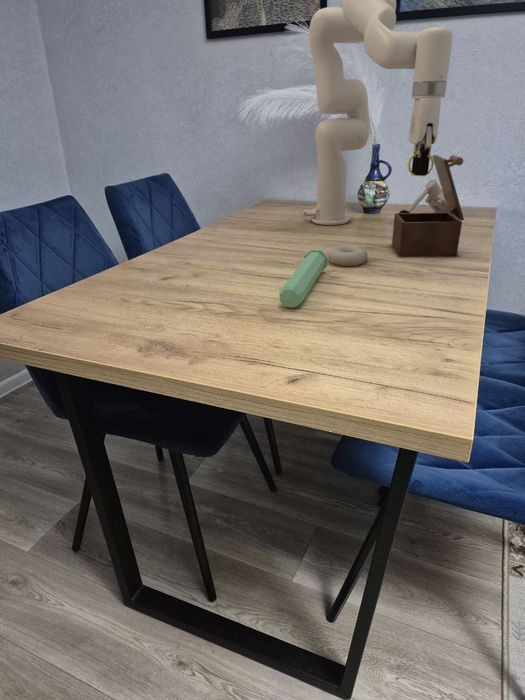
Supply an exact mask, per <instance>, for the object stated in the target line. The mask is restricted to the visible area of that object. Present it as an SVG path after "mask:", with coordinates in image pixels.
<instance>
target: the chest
mask: <svg viewBox="0 0 525 700" xmlns="http://www.w3.org/2000/svg"><path fill="white" fill-rule="evenodd" d="M393 217H394V219H393V228H392V237H391V238H392V240H391V246H392V248H393V250H394V251H395V252H396V254H397V256H398V257H399V258H421V257H422V258H424V257H425V258H428V257H429V258H431V257H432V258H434V257H436V258H437V257H438V258H439V257H457V256H458V250H459V244H460V237H461V231H462V227H463V226H462V225H463V221H461V220H459V219H458V218H457V217H455V216H454V215H452V214H451V213H450V212H446V213H433V212H410V213H399V212H396V213H394V216H393Z"/></svg>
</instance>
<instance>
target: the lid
mask: <svg viewBox="0 0 525 700" xmlns="http://www.w3.org/2000/svg"><path fill="white" fill-rule="evenodd" d="M431 156H432V158H433V160H434V163H433V165H434V167H435V170H436V174H437V177H438V180H439V184H440V188H441V189H442V191H443V194H444V198H445V201H446V205H447V208H448V211H449V212H450V213H452V214H453V215H454V216H455V217H456V218H457V219H459V220H460V221H461V222H463V221H464V220H465V218H464V215H463V210H462V207H461V204H460V200H459V196H458V193H457V189H456V186H455V182H454V179H453V175H452V172H451V167H454V166H462V165H463V163H464V158H463V157H461V156H458V155H455V154H452V155H450V157H448V158H449V159H447V158H444V157H442V156H440V155H437V154H434V155H431Z"/></svg>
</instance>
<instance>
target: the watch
mask: <svg viewBox="0 0 525 700" xmlns="http://www.w3.org/2000/svg"><path fill="white" fill-rule="evenodd" d="M417 154H418V151H417V153H415V154H414V153H413V154H412V156H411V157H410V158H409V160H408V163H407V169H408V172H409V174H410V175H411V176H415V177H426V176H427V175H429V174H430V173H431V172H432V170H433V167H434V160H433V157H432V156H433V155H432V154H430V162H431V163H430V164H431V165H430V167H429V169H428V174H427V175H414V173H413V172H412V167H411V161H412V160H413V157H414V156H415V155H417Z"/></svg>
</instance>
